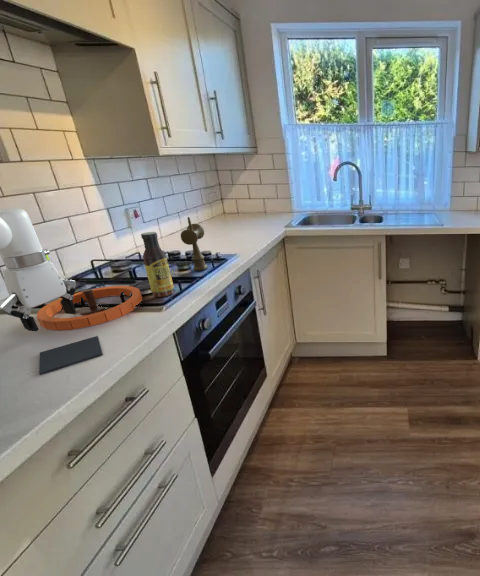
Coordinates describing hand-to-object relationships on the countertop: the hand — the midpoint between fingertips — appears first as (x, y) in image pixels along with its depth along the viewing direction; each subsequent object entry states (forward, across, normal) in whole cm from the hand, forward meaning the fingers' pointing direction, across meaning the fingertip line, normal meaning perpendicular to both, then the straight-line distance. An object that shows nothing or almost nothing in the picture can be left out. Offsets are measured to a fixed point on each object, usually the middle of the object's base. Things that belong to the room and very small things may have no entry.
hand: (52, 321), depth 95 cm
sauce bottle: (+2, -25, +12) cm, 27 cm away
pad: (+2, +9, +18) cm, 20 cm away
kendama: (+2, -47, +7) cm, 47 cm away
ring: (+2, -11, 0) cm, 11 cm away
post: (+2, -11, 0) cm, 11 cm away
